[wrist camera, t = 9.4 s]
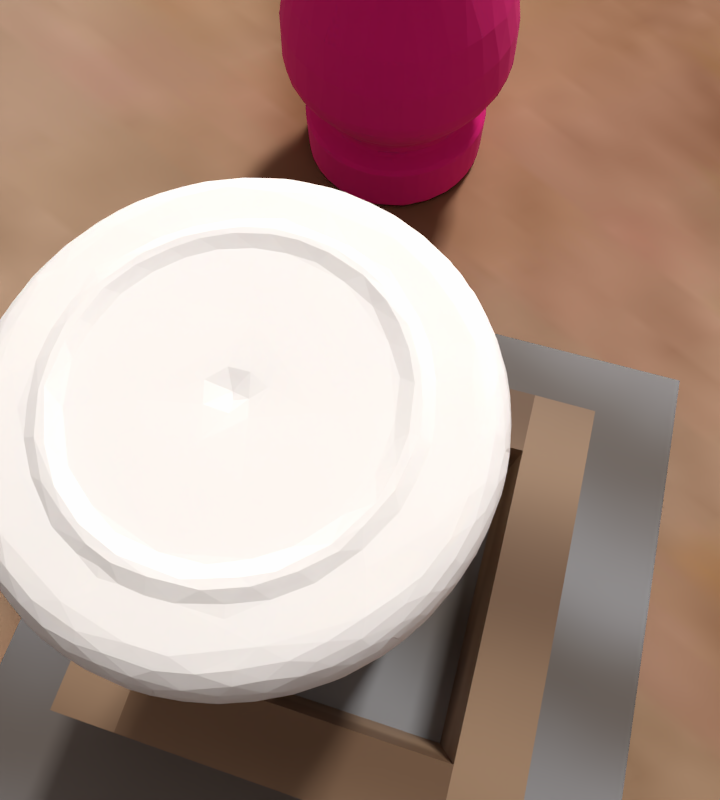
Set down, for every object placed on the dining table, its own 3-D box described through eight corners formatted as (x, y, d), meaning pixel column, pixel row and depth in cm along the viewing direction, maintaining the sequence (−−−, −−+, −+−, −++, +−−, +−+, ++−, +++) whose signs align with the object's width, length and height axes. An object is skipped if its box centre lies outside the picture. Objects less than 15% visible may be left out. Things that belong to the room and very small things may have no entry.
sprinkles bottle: (452, 575, 17) (650, 406, 5) (325, 698, 16) (163, 889, 4) (340, 454, 19) (269, 72, 6) (216, 562, 18) (-175, 372, 5)
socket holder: (578, 1012, 15) (643, 1130, 11) (-37, 780, 17) (-148, 818, 13) (668, 390, 20) (731, 336, 17) (193, 268, 22) (158, 196, 18)
